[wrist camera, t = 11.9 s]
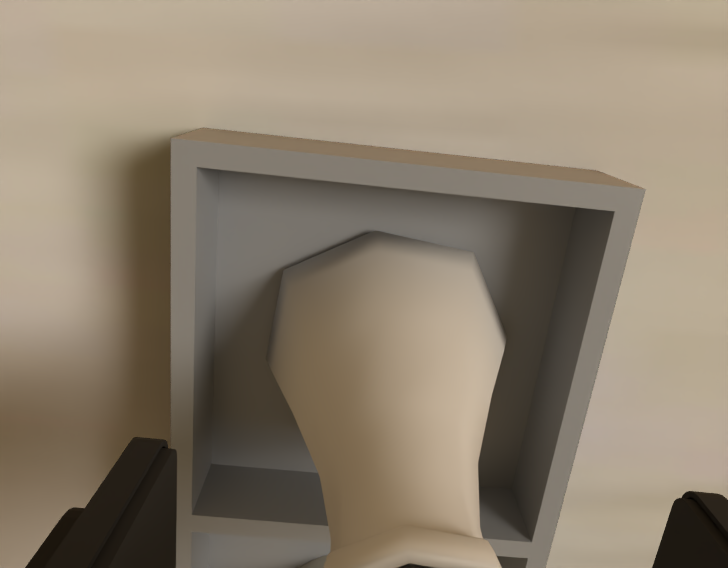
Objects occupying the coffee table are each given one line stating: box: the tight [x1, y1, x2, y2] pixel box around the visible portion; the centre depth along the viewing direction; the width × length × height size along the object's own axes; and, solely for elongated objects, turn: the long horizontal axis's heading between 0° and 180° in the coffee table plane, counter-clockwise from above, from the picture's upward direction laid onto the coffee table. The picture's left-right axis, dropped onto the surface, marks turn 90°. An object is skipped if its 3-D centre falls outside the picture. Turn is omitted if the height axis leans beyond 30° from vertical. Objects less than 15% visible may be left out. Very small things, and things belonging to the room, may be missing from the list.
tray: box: [171, 128, 646, 568], centre depth 19 cm, size 22×11×3 cm, turn 174°
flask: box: [266, 230, 507, 568], centre depth 13 cm, size 7×7×10 cm
